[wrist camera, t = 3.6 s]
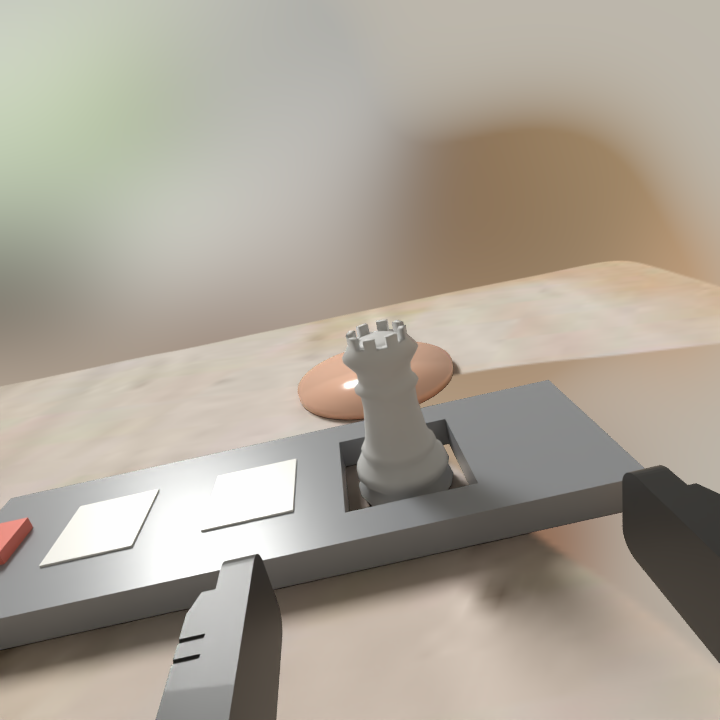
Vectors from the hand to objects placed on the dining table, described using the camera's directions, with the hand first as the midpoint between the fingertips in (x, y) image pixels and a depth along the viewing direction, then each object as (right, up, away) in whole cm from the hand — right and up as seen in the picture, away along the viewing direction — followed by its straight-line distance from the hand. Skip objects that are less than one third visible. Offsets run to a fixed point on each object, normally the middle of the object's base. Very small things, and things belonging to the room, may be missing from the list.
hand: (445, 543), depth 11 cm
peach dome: (-1, +3, +25) cm, 25 cm away
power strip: (-6, -3, +13) cm, 14 cm away
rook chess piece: (0, -2, +13) cm, 13 cm away
